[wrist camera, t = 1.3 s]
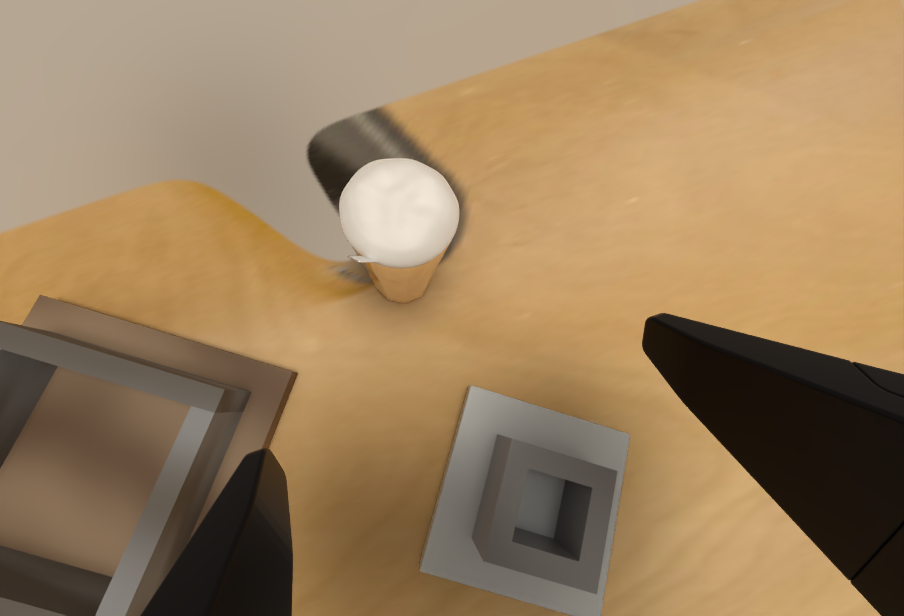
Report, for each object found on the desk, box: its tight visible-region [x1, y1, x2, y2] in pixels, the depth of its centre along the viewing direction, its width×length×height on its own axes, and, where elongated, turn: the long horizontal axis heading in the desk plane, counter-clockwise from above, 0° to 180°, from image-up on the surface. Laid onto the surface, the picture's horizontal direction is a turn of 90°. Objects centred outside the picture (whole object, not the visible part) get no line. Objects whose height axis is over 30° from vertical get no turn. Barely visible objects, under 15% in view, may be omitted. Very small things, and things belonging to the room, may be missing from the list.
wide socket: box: [0, 295, 298, 616], centre depth 17 cm, size 13×13×4 cm
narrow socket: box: [419, 385, 630, 616], centre depth 19 cm, size 9×9×4 cm
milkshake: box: [339, 158, 459, 303], centre depth 18 cm, size 4×5×10 cm
